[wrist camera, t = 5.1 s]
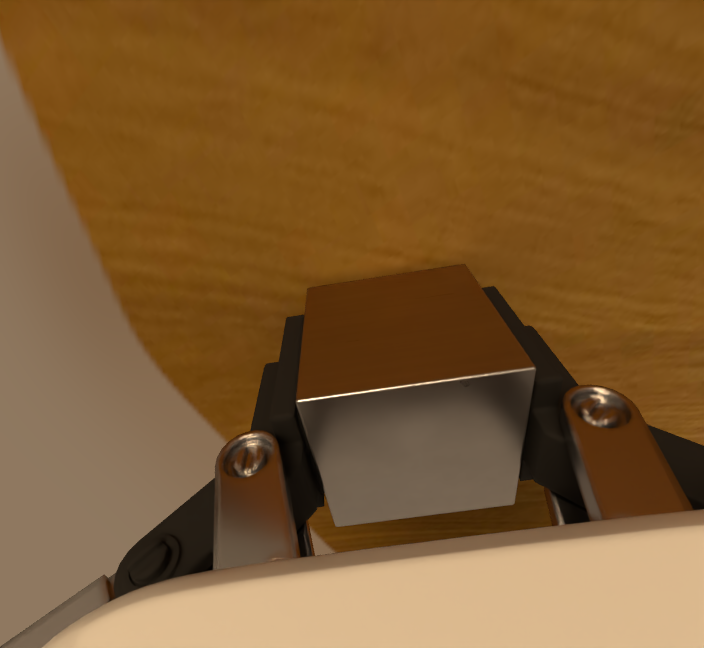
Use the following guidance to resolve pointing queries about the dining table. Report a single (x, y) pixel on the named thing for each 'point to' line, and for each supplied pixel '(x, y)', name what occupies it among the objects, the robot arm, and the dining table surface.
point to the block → (412, 396)
